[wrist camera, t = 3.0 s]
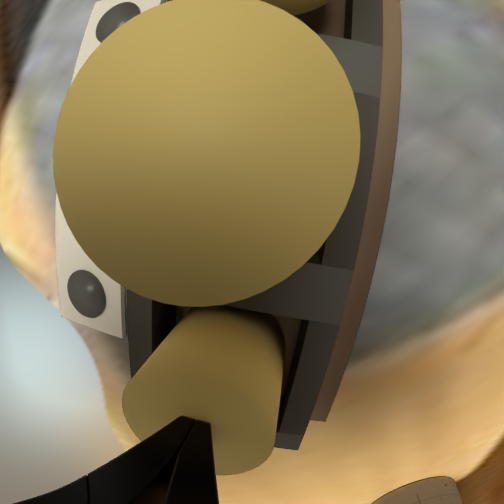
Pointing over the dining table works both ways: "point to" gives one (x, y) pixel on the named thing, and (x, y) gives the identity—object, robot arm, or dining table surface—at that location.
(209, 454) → the robot arm
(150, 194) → the button middle
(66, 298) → the card
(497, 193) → the dining table surface
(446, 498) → the thermos bottle
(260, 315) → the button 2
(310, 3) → the button
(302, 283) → the dark brown tray
